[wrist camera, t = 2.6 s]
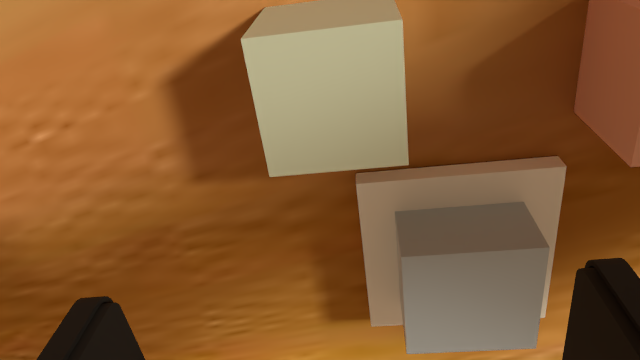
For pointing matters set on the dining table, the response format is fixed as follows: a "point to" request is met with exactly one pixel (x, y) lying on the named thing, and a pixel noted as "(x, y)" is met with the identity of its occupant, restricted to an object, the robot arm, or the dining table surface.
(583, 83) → the brick terracotta
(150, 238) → the dining table surface
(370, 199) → the plate
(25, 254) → the dining table surface
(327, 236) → the dining table surface
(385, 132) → the brick sage
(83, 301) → the robot arm
